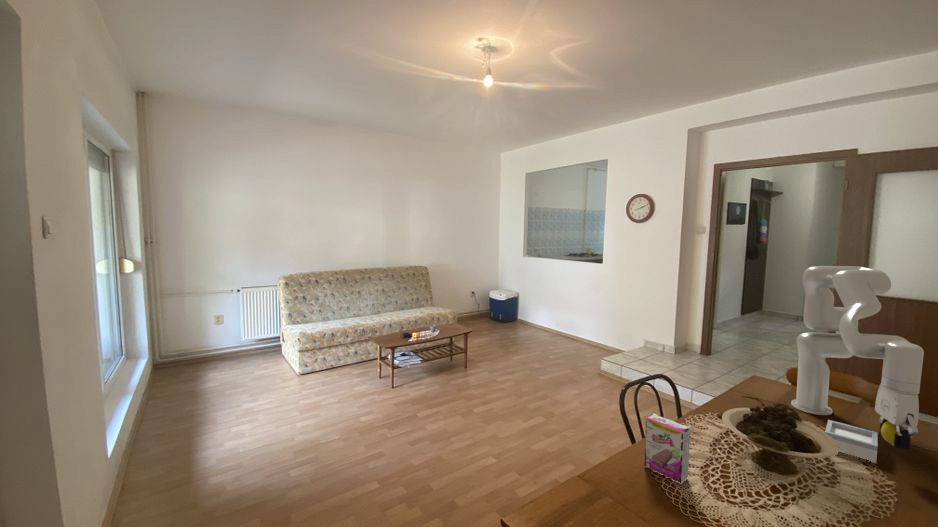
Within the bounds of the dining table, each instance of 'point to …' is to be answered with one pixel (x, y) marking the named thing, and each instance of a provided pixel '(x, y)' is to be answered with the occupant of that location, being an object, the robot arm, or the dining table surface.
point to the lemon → (889, 432)
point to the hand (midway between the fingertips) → (893, 441)
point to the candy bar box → (667, 447)
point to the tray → (854, 440)
